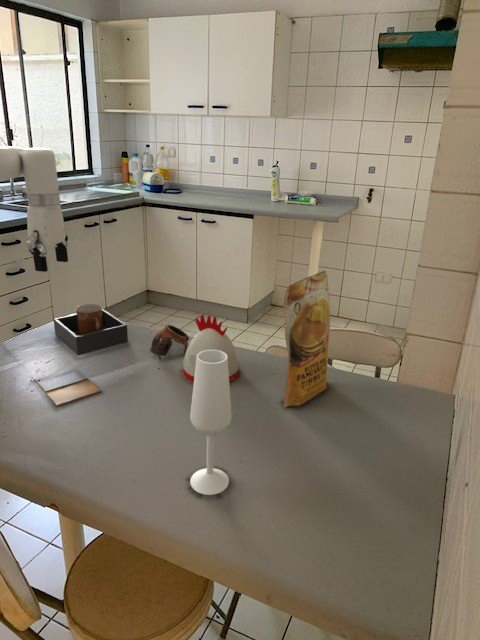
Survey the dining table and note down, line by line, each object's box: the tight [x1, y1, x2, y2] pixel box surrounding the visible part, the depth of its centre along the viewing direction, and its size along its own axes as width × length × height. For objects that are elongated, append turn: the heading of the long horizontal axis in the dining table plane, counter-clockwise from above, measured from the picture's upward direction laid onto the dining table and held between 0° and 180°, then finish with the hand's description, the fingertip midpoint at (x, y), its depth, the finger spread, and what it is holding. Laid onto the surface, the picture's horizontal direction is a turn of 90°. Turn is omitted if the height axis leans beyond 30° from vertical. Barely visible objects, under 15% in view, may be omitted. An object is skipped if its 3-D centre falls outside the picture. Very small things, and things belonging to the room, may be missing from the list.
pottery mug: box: [149, 324, 190, 357], centre depth 123 cm, size 12×10×8 cm
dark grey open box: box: [53, 308, 129, 356], centre depth 129 cm, size 15×14×6 cm
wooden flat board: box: [33, 378, 102, 408], centre depth 107 cm, size 14×10×1 cm
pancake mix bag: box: [282, 270, 331, 408], centre depth 103 cm, size 7×19×28 cm, turn 137°
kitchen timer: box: [182, 314, 240, 383], centre depth 113 cm, size 14×14×15 cm
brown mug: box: [75, 303, 103, 336], centre depth 127 cm, size 9×7×9 cm
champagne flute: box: [189, 350, 233, 496], centre depth 75 cm, size 7×7×24 cm
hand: (52, 266), depth 123 cm, fingers open, 9 cm apart
